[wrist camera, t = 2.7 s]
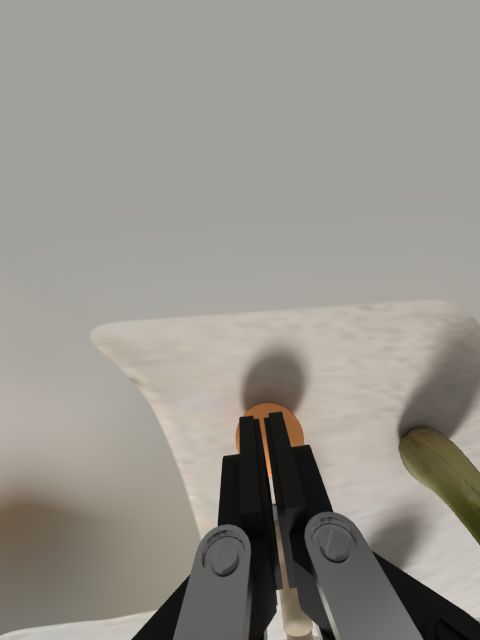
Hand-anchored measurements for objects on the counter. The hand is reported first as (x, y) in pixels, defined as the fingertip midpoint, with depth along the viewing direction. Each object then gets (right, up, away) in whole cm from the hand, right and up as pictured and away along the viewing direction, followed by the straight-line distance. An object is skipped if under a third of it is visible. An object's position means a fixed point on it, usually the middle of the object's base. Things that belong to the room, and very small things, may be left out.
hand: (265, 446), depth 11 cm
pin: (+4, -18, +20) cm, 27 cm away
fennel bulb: (+17, -8, +18) cm, 26 cm away
